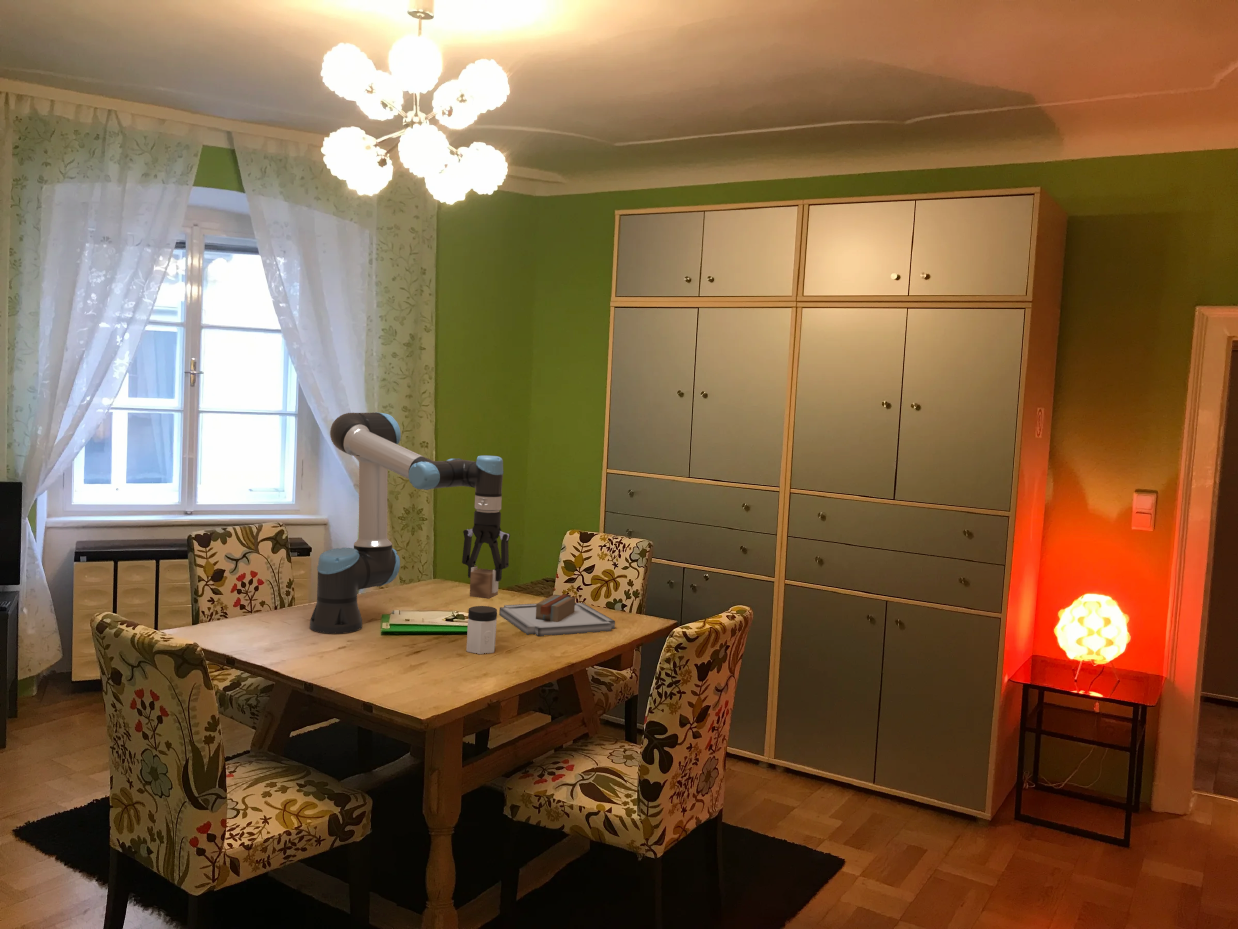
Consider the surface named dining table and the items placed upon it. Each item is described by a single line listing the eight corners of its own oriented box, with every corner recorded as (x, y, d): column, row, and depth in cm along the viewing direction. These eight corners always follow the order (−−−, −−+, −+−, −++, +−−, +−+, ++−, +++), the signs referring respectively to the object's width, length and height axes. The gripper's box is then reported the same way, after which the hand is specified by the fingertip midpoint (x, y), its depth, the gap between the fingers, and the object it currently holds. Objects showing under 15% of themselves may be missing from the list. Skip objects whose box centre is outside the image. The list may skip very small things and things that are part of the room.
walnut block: (469, 596, 279) (470, 572, 278) (478, 592, 285) (479, 568, 284) (489, 598, 277) (490, 574, 277) (497, 594, 283) (498, 570, 282)
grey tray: (618, 632, 313) (619, 609, 312) (530, 639, 300) (531, 614, 299) (578, 610, 340) (580, 588, 339) (496, 615, 326) (497, 592, 325)
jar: (472, 655, 277) (474, 613, 276) (460, 648, 283) (462, 607, 282) (501, 652, 282) (503, 611, 281) (488, 644, 288) (490, 604, 287)
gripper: (451, 508, 278) (447, 589, 280) (513, 515, 273) (509, 597, 275) (462, 505, 285) (459, 584, 287) (523, 512, 280) (519, 592, 282)
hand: (484, 590), depth 281 cm, fingers closed on walnut block, 6 cm apart
